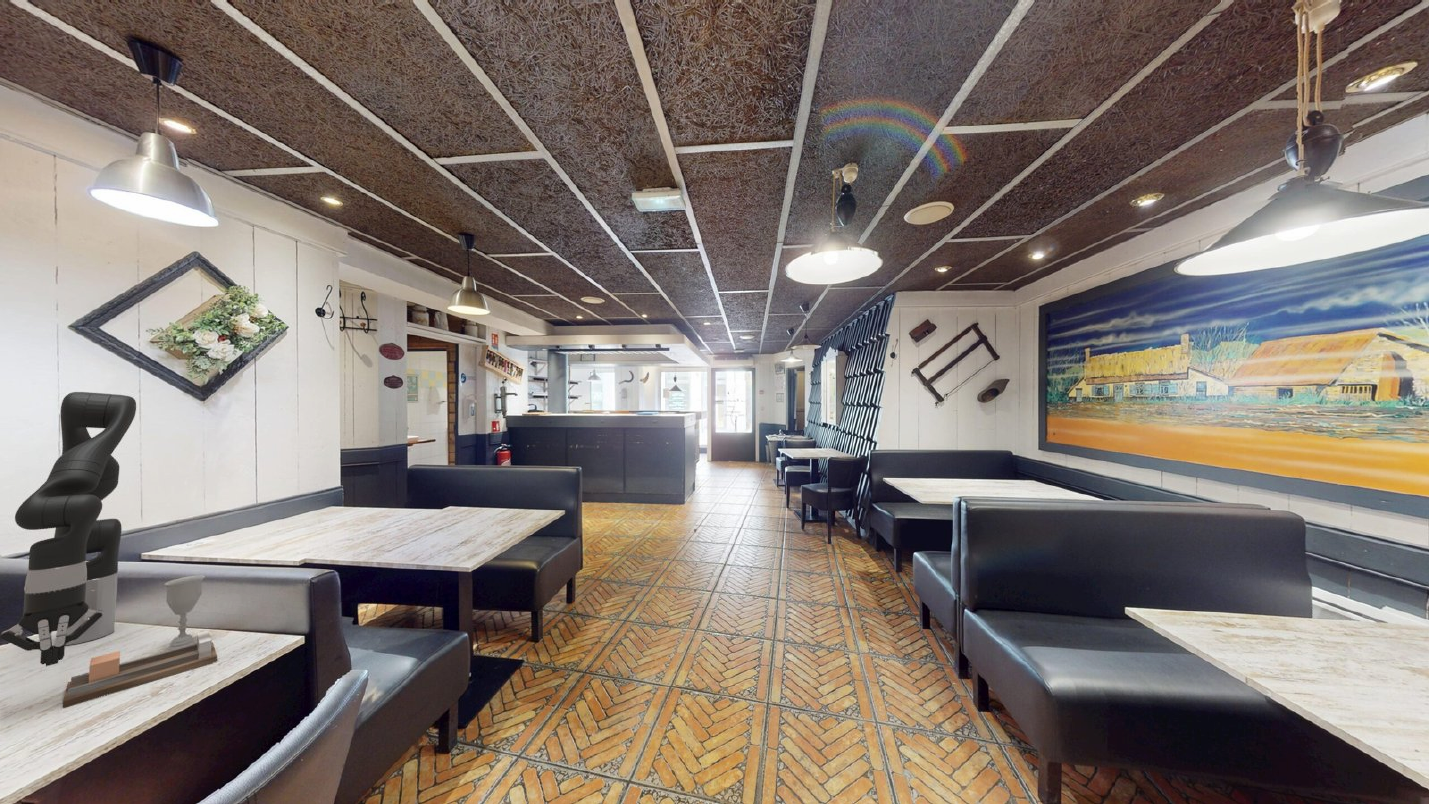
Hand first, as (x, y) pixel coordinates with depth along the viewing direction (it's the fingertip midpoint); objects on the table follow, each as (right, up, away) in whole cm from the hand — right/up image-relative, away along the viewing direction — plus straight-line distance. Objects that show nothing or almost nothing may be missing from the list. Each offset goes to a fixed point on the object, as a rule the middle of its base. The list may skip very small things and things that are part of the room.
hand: (52, 663), depth 94 cm
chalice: (0, -10, +23) cm, 25 cm away
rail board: (+7, -9, +10) cm, 16 cm away
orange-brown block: (+4, -7, +5) cm, 10 cm away
